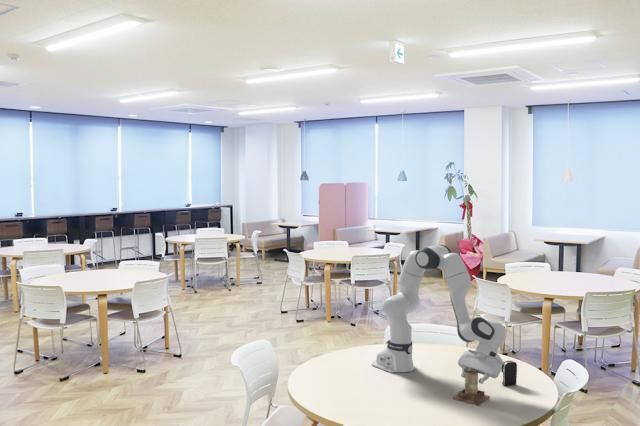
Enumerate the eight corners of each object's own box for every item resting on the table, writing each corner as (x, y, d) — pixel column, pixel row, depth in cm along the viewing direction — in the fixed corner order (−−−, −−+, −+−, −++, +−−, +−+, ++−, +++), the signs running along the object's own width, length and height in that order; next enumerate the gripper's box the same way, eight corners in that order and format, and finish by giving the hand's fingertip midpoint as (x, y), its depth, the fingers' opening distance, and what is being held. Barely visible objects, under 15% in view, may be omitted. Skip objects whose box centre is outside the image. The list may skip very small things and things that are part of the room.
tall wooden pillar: (464, 396, 259) (465, 370, 259) (469, 393, 262) (470, 368, 261) (472, 398, 256) (473, 372, 256) (477, 396, 259) (478, 370, 258)
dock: (452, 398, 259) (452, 392, 258) (465, 390, 268) (465, 385, 268) (477, 405, 251) (477, 399, 251) (489, 397, 260) (489, 391, 260)
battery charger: (511, 382, 279) (512, 359, 278) (517, 385, 275) (517, 361, 274) (499, 384, 276) (500, 360, 276) (504, 386, 273) (505, 363, 272)
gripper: (463, 345, 271) (449, 369, 265) (501, 355, 255) (487, 382, 249) (469, 352, 274) (455, 377, 268) (506, 363, 258) (493, 390, 252)
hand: (471, 379), depth 259 cm, fingers open, 8 cm apart
